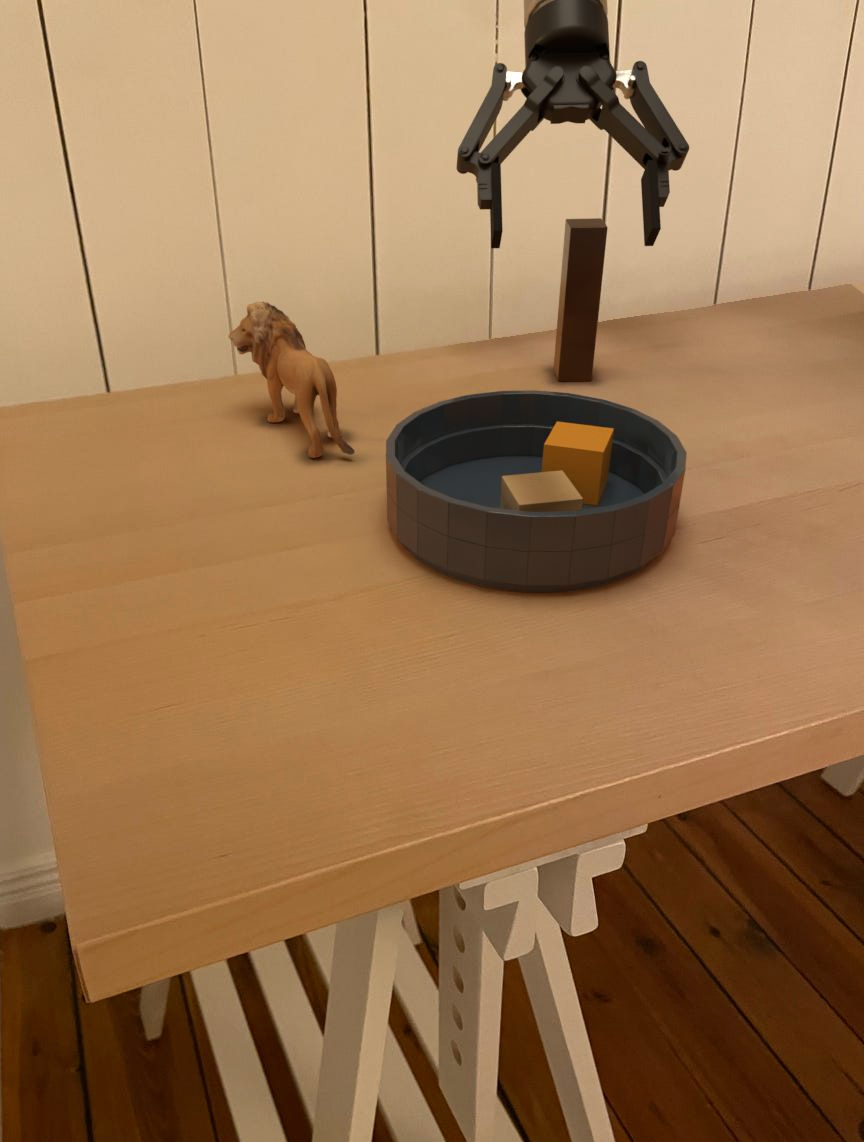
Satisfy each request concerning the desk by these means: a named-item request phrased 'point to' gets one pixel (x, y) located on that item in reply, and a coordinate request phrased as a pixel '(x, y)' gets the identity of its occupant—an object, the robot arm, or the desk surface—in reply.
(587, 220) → the dark brown bar
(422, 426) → the bowl
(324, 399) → the lion figurine
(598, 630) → the desk surface
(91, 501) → the desk surface
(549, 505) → the block maple
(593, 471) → the block mustard
